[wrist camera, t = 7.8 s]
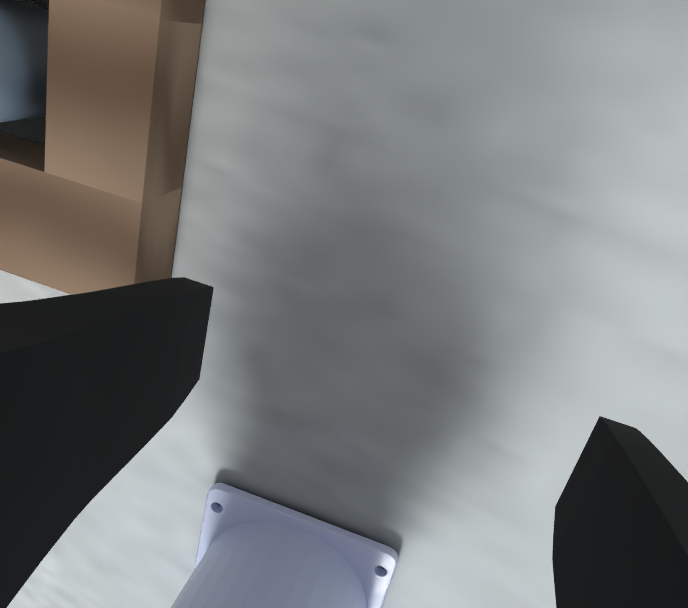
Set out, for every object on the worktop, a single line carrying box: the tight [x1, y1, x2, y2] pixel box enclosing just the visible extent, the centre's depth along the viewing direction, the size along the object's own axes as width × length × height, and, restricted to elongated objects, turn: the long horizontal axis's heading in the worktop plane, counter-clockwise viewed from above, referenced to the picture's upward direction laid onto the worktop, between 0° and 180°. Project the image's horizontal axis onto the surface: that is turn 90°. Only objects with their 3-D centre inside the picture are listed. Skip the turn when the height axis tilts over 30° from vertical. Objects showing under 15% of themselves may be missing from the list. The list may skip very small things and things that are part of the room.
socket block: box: [0, 0, 205, 295], centre depth 20 cm, size 13×12×2 cm
